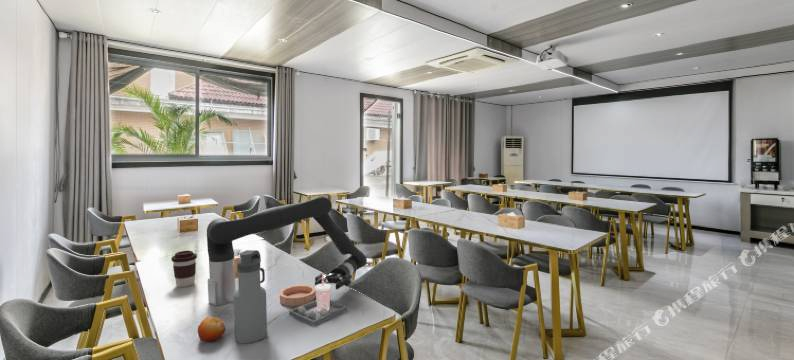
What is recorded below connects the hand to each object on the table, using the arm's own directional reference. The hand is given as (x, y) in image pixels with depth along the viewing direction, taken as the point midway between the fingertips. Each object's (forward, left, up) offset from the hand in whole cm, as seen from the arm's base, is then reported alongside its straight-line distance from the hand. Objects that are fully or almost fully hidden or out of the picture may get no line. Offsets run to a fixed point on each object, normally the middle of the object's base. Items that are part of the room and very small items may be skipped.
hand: (326, 286), depth 141 cm
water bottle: (-31, +1, -8) cm, 32 cm away
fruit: (-40, +9, -8) cm, 42 cm away
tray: (-6, -2, -8) cm, 10 cm away
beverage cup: (-3, -1, -8) cm, 9 cm away
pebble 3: (-7, -6, -8) cm, 12 cm away
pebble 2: (-11, -5, -8) cm, 14 cm away
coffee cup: (-25, +69, -8) cm, 73 cm away
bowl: (-3, +15, -8) cm, 17 cm away
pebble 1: (-11, +1, -8) cm, 13 cm away
